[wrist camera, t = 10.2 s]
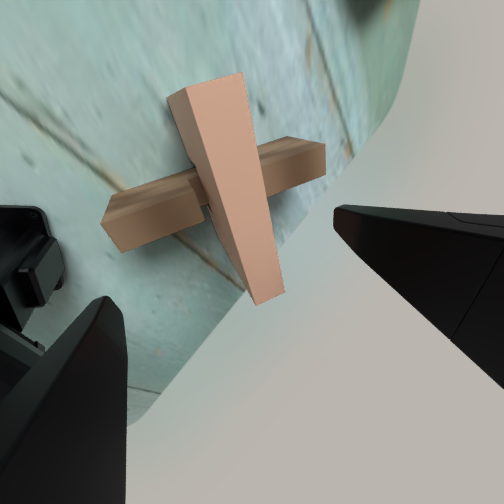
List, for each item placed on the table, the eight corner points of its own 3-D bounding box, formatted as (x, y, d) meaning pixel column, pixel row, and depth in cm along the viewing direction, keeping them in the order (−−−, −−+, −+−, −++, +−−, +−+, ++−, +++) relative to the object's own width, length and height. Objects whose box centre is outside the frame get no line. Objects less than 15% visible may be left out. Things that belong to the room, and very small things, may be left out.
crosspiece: (238, 230, 21) (284, 292, 14) (218, 238, 21) (255, 305, 14) (196, 89, 15) (242, 72, 8) (166, 97, 14) (185, 87, 7)
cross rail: (127, 219, 17) (121, 253, 13) (111, 195, 16) (100, 223, 12) (289, 161, 20) (325, 174, 16) (287, 136, 18) (325, 143, 14)
